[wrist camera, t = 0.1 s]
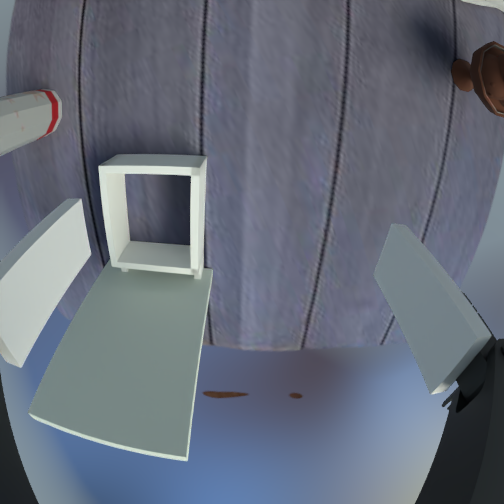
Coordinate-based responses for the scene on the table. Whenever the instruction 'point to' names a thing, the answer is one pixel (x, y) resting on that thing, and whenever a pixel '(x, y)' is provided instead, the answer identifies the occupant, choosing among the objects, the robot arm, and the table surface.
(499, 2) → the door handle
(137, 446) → the bottle bracket
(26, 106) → the spray bottle
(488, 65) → the ice cream bowl
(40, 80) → the table surface
